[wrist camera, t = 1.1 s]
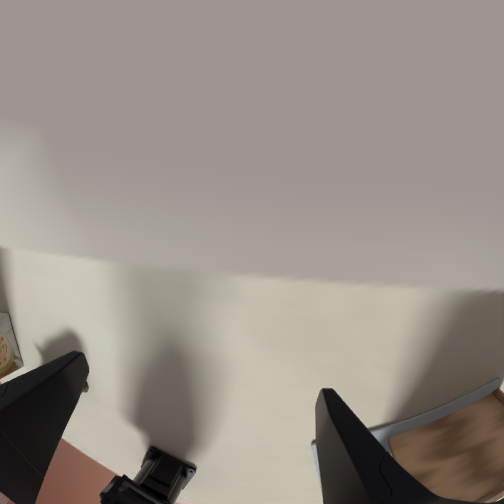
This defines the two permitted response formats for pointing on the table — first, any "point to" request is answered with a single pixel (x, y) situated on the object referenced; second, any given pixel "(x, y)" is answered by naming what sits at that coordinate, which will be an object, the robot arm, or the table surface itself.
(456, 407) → the card
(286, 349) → the table surface
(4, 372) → the coffee box
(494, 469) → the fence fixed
